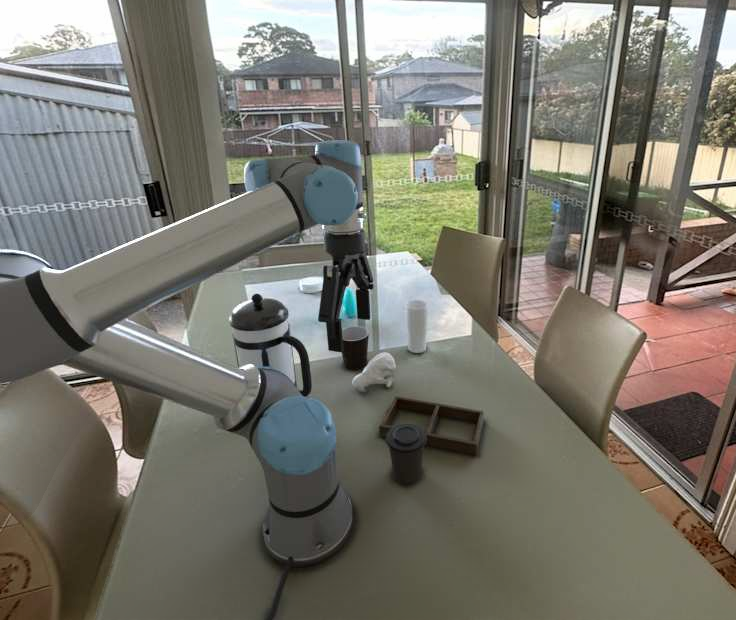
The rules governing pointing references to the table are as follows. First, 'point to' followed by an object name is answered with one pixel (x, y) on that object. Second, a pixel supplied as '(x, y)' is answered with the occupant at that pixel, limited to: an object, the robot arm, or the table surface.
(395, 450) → the coffee cup
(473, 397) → the table surface
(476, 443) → the frame
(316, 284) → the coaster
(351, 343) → the coffee mug
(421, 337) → the drinking glass
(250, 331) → the coffee press
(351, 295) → the cyan wheel pair
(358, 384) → the white lumpy figurine
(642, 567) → the table surface
